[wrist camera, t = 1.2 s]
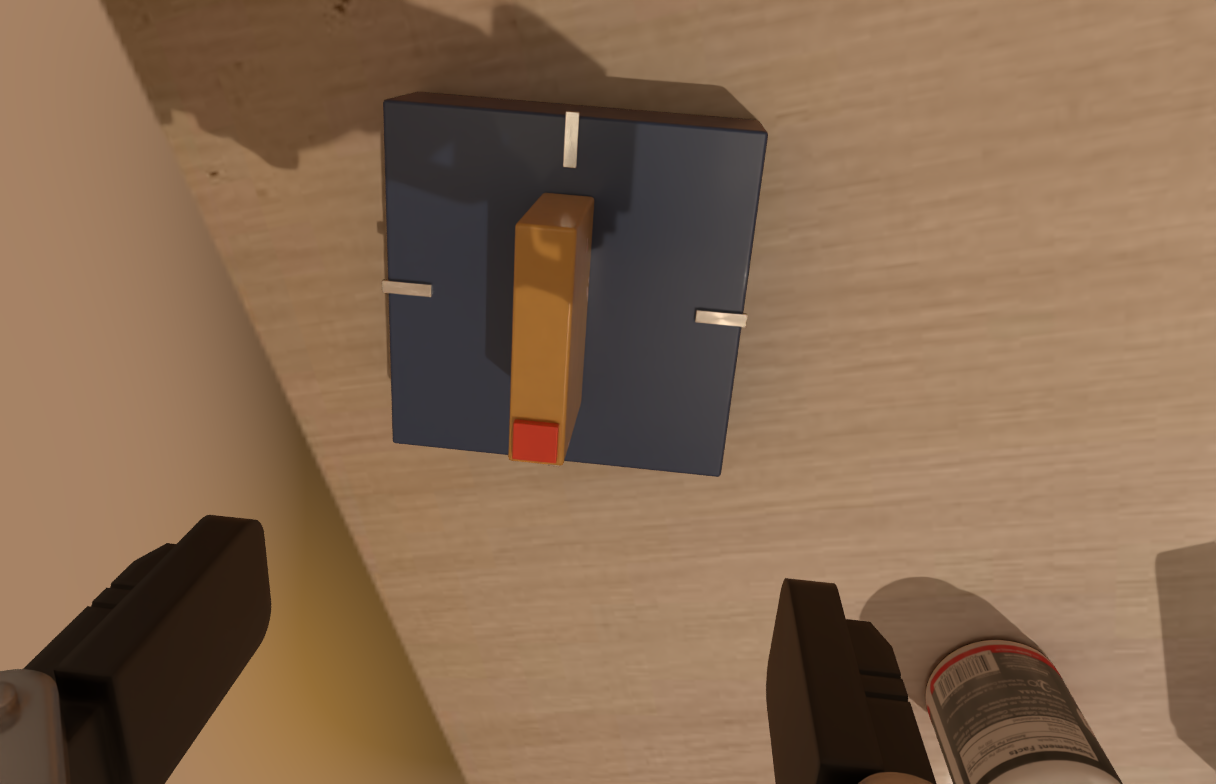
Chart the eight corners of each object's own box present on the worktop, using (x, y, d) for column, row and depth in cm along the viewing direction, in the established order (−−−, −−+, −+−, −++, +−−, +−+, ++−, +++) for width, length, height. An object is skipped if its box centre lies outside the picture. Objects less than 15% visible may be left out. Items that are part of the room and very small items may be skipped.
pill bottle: (1047, 740, 32) (1158, 962, 25) (916, 735, 33) (986, 952, 25) (1069, 636, 31) (1196, 841, 23) (930, 632, 31) (1010, 832, 23)
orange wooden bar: (542, 192, 23) (512, 225, 19) (594, 196, 23) (575, 231, 19) (534, 398, 25) (505, 465, 22) (581, 403, 25) (561, 471, 21)
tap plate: (411, 87, 25) (375, 95, 22) (764, 116, 25) (774, 128, 22) (417, 406, 29) (386, 449, 26) (720, 438, 29) (724, 484, 26)
